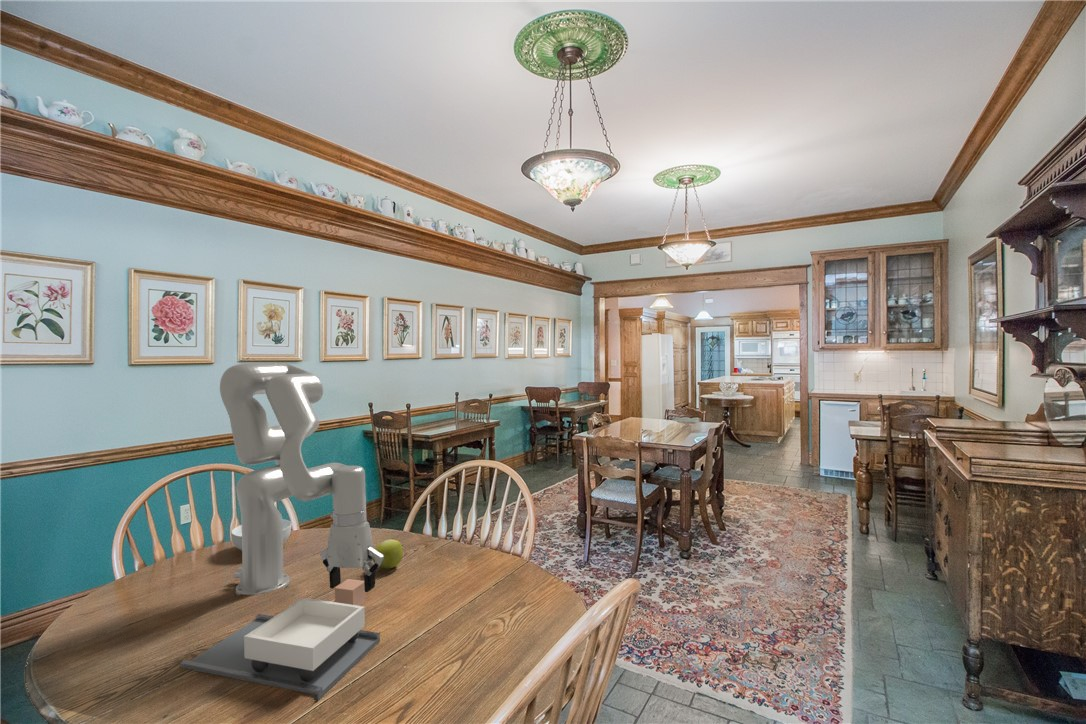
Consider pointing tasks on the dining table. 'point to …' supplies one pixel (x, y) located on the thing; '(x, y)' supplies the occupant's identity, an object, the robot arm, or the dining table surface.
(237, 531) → the cereal bowl
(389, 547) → the apple
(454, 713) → the dining table surface
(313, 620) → the cart
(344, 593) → the block
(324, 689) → the track
